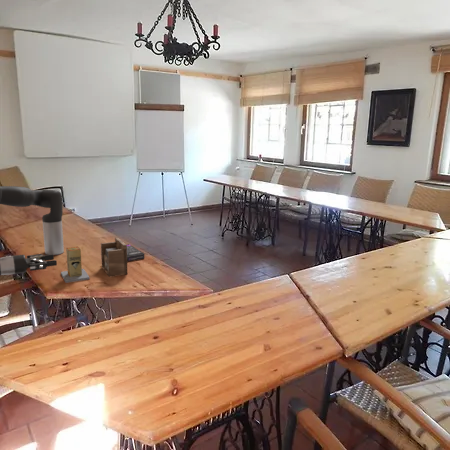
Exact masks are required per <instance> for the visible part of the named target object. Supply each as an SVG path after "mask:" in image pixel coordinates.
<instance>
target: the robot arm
mask: <svg viewBox="0 0 450 450" xmlns="http://www.w3.org/2000/svg"><path fill="white" fill-rule="evenodd" d="M0 205H4V206H7V207H8V206H9V207H17V208H20V207H21V208H22V207H23V208H24V207H25V208H26V207H29V206H37V207H41V208H44V209H45V208H46V209H50V210H49V213H47V214H46V213H45V214H43V215H42V218H41V220H42V231H43V243H44V244H43V245H44V246H43V247H44V254H42V253H38V254H31V255H26V256H25V254H18V255H17V254H16V255H9V256H8V255H7V256H3V257H0V276H9V275H17V274H24V273H27V271H28V270H27V269H29V271H31V272H32V271H40V270H46V269H47V268H48V267H54V266H57V264H58V263H57V260H56V259H55V258H54V257H55V256H57V255H61V254H63V253H65V252H64V251H65V249H64V248H65V247H64V234H63V233H64V231H63V211H64V210H63V207H64V206H63V205H64V204H63V196H62V193H61V192H60V191H59V190H56V189H55V190H54V189H38V190H37V189H36V190H33V189H31V188H29V187H25V186H16V185H11V186H10V185H9V186H8V185H3V186H1V185H0Z"/></svg>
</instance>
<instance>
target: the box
mask: <svg viewBox="0 0 450 450" xmlns="http://www.w3.org/2000/svg"><path fill="white" fill-rule="evenodd" d="M126 245H127V263H128V262H131V261H138V260H142V259H145V253H144V252H142V251H141V250H139V249H138V248H136V247H134V246H133V245H131V244H129V243H128V244H126Z"/></svg>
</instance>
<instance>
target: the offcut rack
mask: <svg viewBox="0 0 450 450" xmlns="http://www.w3.org/2000/svg"><path fill="white" fill-rule="evenodd" d="M127 245H128V244H126V243H125V242H124V241H122V239H120V238H119V237H115V238H114V241H110V242H103V243H102V242H101V243H100V255H101V268H102V270H103V271H104V272H105V274H107V276H108V277H110V278H112V277H118V276H124V275H128V262H127Z"/></svg>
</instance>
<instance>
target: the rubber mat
mask: <svg viewBox="0 0 450 450" xmlns="http://www.w3.org/2000/svg"><path fill="white" fill-rule="evenodd" d="M60 275H61V277H62V278H63V281H64V283H66V284H68V283H74V282H81V281H88V280H90V279H91V278H90V276H89V274H88V272H87V271H86V270H85V269H84V268H82V275H81V276H74V277H70V276H69V274H68V270H63V271H60Z"/></svg>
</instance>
